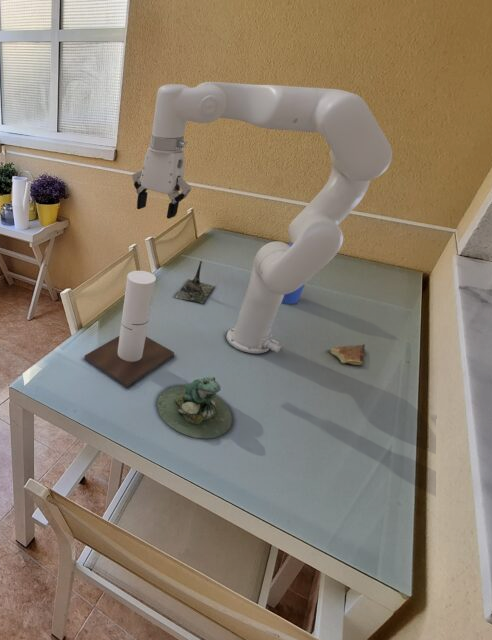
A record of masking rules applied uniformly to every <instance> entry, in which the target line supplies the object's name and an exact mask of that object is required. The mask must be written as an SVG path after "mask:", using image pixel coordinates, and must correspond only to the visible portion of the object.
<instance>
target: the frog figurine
mask: <svg viewBox="0 0 492 640" xmlns="http://www.w3.org/2000/svg"><path fill="white" fill-rule="evenodd" d="M221 389H222V388H221V385H220V383H218V381H216V378H215V376H214V375H210V376H209V377H203V378H201V379H198V378H197V379H193V381H191V382H188V383H186V385H176V386H173V387H169V388H168V389H166V390H164V391H163V392H162V393H161V394H160V396H159V397H158V400H157V410H158V413H159V415H160V417H161V419H162V420H163V421H164V422H165V423H166V425H168V426H169V427H170V428H171V429H173V430H174V431H177V432H178V433H180V434H181V435H185V436H187V437H191V438H195V439H203V440H205V439H208V440H209V439H216V438H218V437H221V436H223V435H224V434H226V433H227V432H228V431H229V430H230V428H231V426H232V424H233V423H232V422H233V418H232V417H233V416H232V412H231V410H230V408H229V406H228V405H227V404H226V403H225V401H224V400H222V399H221V398H220V397H219V396H218V395H216V394H217V393H219V392H220V391H221Z"/></svg>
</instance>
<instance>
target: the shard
mask: <svg viewBox="0 0 492 640" xmlns="http://www.w3.org/2000/svg"><path fill="white" fill-rule="evenodd" d="M365 347H366V345H365V344H357V345H344V346H343V345H342V346H337V347H336V346H335V347H332V348H331V349H330V353H331V355H333V356H335V357H337V358H338V359H339V361H340V362H341V363H342V364H350V365H355V366H361V365H363V363H364V355H365Z"/></svg>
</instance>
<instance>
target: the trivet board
mask: <svg viewBox="0 0 492 640" xmlns="http://www.w3.org/2000/svg"><path fill="white" fill-rule="evenodd" d="M119 337H120V335H118V336H116V337H115V338H113V339H111V340H109V341H107V342H106V343H104V344H102V345H100V346H99V347H96V348H95V349H94V350H91V351H90V352H88V353H86V354H85V355H84V361H86V362H87V363H89V364H90V365H91V366H93V367H95V368H97V370H99V371H101V372H102V373H103V374H104V375H106V376H108V377H109V378H111V379H112V380H114V381H115V382H117V383H118V384H120V385H121V386H122V387H124V388H125V389H127V388H129V387H130V386H132V385H133V384H134V383H136V382H137V381H139V380H140V379H142V378H143V377H145V376H147V375H148V374H149V373H151V372H152V371H154V370H155V369H157V368H158V367H160V366H161V365H163V364H164V363H166V362H167V361H168V360H171V358H173V357H174V356H175V352H174V351H173V350H171V349H169V348H168V347H166V346H164V345H162V344H160V343H159V342H157V341H155V340H153V339H151V338H150V337H147V336H146V338H145V343H144V349H143V355H142V358H141V359H140V360H138V361H134V362H130V361H125V360H123V359H121V358H120V357H119V356H118V345H119Z"/></svg>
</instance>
